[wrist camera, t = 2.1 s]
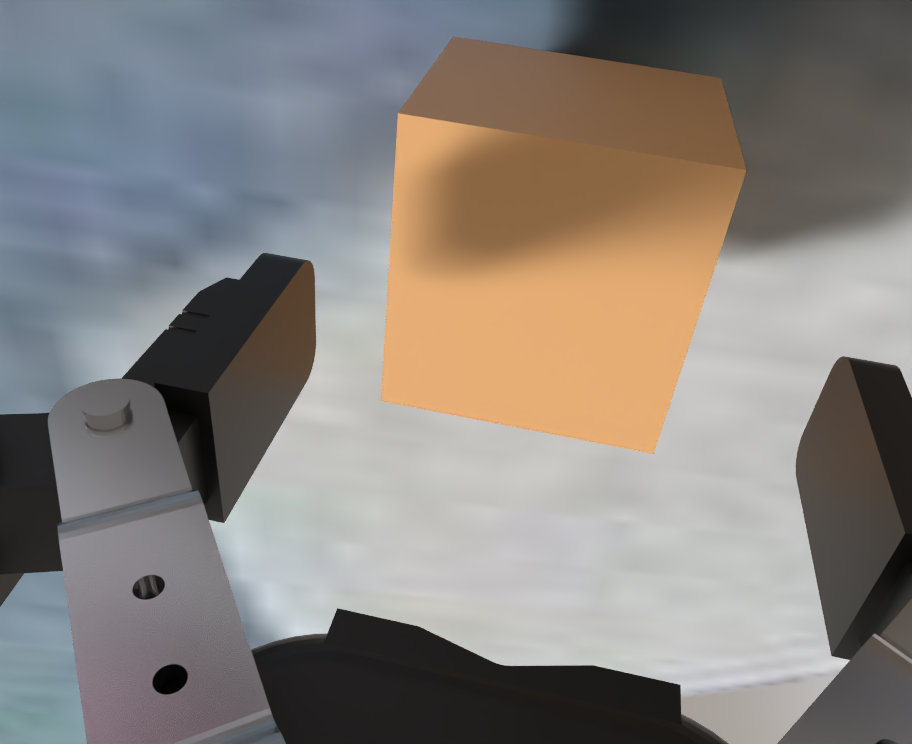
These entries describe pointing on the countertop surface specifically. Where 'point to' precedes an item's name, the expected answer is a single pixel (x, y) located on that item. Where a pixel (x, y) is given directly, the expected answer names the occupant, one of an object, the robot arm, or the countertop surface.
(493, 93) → the plug
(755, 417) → the countertop surface
